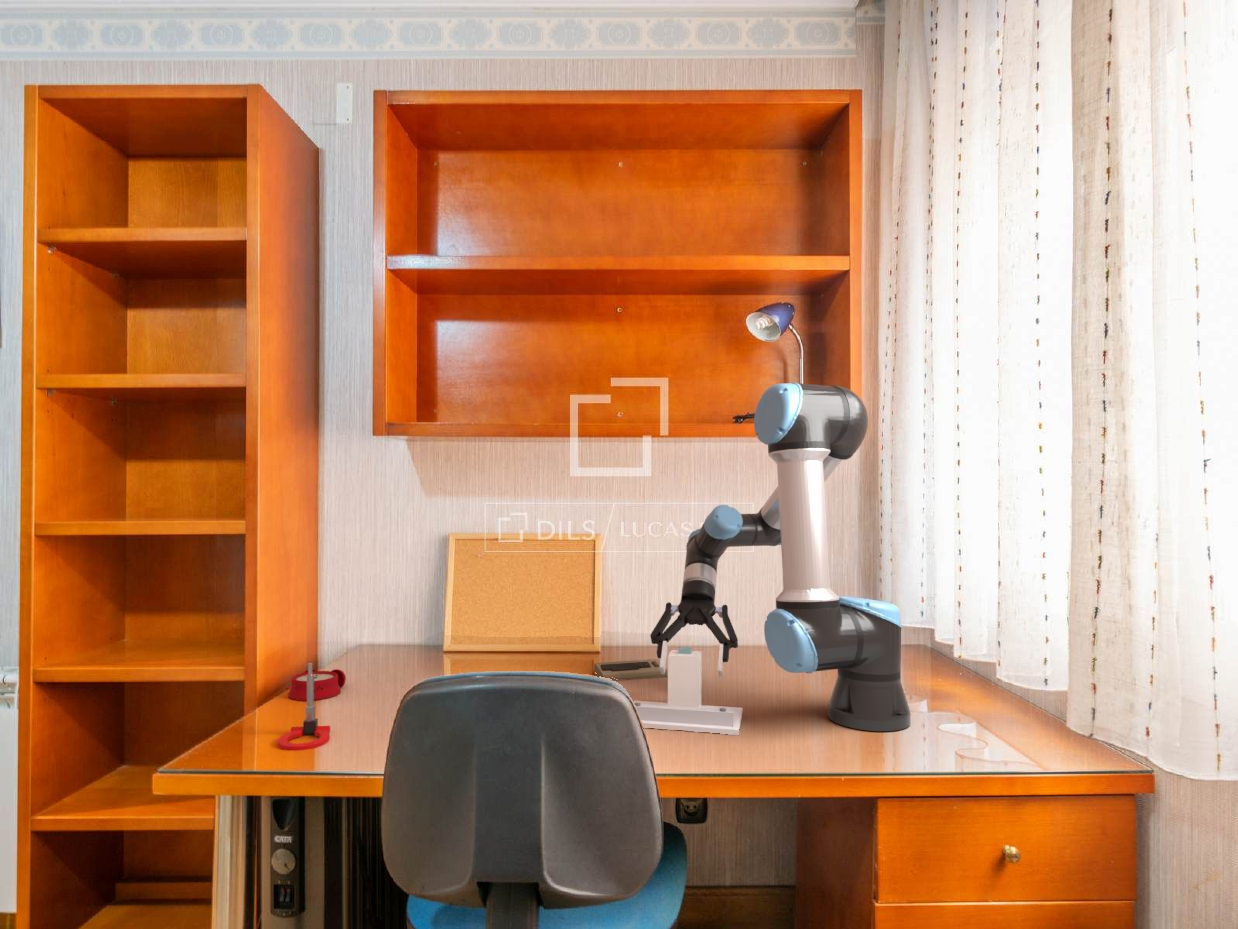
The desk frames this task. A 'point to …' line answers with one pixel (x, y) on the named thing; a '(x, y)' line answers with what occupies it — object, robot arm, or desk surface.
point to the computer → (629, 669)
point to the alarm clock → (317, 684)
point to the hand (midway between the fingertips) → (690, 672)
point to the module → (684, 678)
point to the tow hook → (307, 723)
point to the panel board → (698, 727)
